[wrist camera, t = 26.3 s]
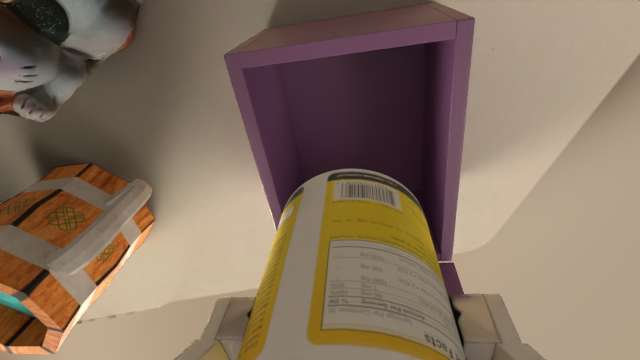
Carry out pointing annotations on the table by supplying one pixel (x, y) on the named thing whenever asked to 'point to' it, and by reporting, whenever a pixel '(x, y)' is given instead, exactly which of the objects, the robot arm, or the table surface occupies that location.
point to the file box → (361, 104)
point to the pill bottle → (352, 278)
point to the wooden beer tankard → (64, 251)
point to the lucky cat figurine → (56, 49)
